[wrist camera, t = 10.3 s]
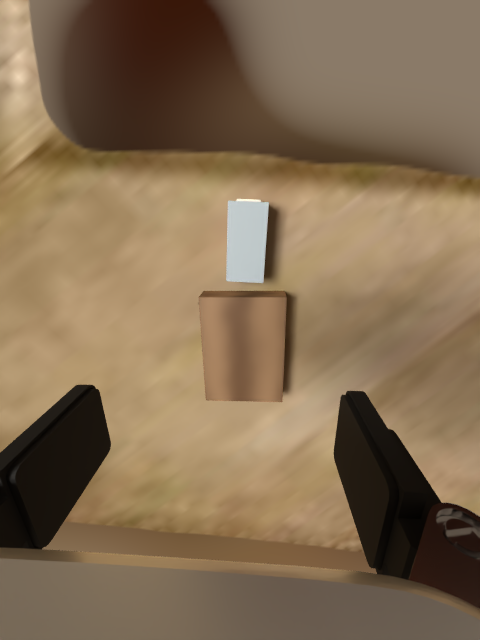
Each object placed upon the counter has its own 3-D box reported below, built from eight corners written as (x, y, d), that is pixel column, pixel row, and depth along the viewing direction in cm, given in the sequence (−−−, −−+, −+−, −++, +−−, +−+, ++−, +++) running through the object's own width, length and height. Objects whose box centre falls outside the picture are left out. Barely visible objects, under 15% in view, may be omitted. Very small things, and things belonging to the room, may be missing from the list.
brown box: (284, 290, 33) (286, 297, 30) (280, 388, 38) (282, 401, 35) (203, 291, 34) (198, 297, 31) (209, 387, 38) (205, 400, 36)
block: (262, 276, 33) (267, 202, 30) (263, 282, 29) (269, 199, 26) (229, 274, 33) (231, 200, 30) (226, 281, 29) (228, 197, 26)
